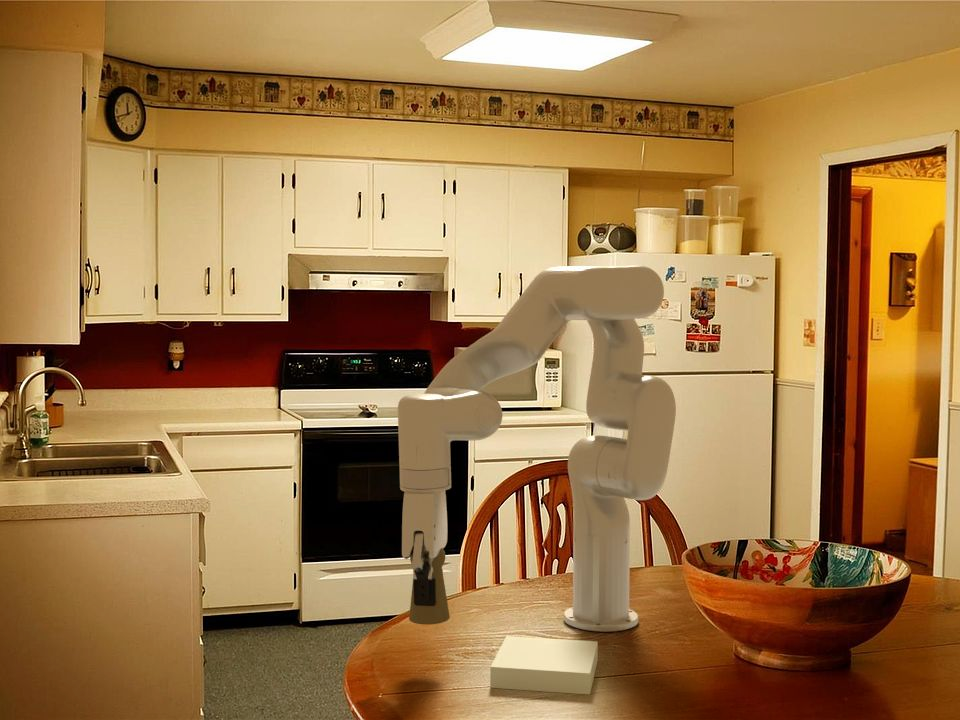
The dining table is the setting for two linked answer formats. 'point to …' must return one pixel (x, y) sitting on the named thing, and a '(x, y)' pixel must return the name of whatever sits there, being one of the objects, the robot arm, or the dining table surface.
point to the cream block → (545, 665)
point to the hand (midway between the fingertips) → (428, 599)
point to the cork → (440, 609)
